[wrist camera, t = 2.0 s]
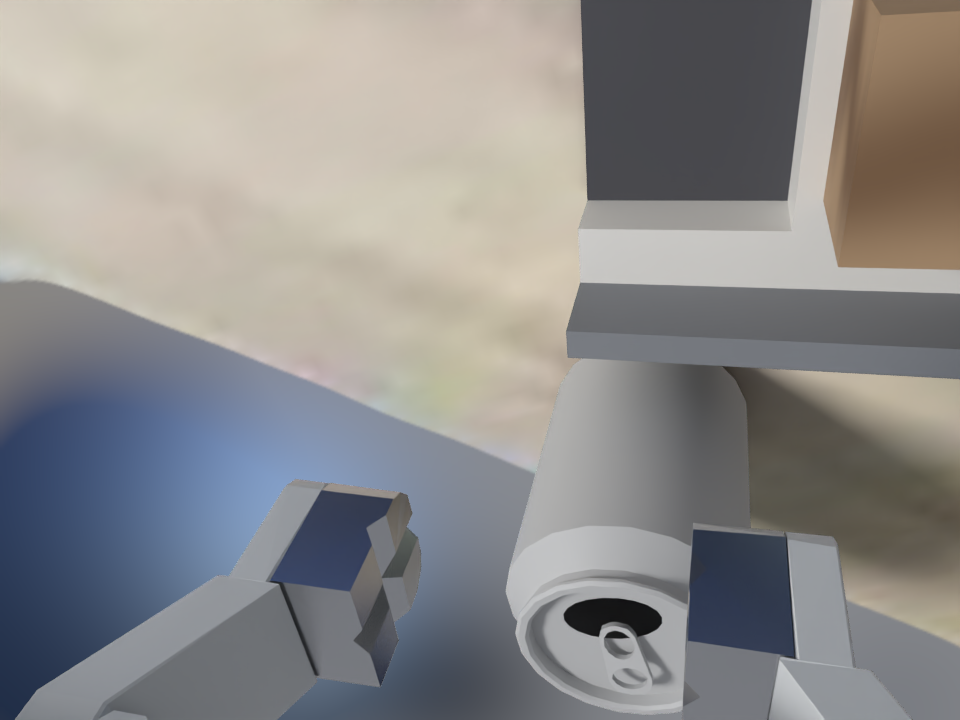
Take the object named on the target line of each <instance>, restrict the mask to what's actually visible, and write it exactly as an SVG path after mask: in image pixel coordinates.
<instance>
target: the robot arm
mask: <svg viewBox="0 0 960 720" xmlns="http://www.w3.org/2000/svg"><path fill="white" fill-rule="evenodd" d="M411 515H412V511H411V507H410V503H409V499H408V496H407V495H406V494H403V493H401V492H394V491H386V490H379V489H371V488H364V487H356V486H349V485H341V484H334V483H322V482H314V481H307V480H299V479H295V480H294V481H292V482H291V483H289V484H288V485H287V486H286V487H285V488H284V489H283V491H282V492H281V494H280V496H279V497H278V499H277V500H276V502H275V503H274V505H273V507H272V508H271V510H270V511H269V513H268V515H267V516H266V518H265V520H264V521H263V522H262V524H261V526H260V527H259V529H258V530H257V532H256V534H255V535H254V537H253V538H252V540H251V542H250V543H249V545H248V546H247V548H246V549H245V551H244V553H243V554H242V556H241V558H240V559H239V561H238V562H237V564H236V565H235V567H234V569H233V570H232V572H231V573H230V575H229V576H223V575H217V576H216V577H215V578H213V579H211V580H210V581H208V582H207V583H205V584H203V585H202V586H200V587H199V588H197V589H196V590H194V591H192V592H191V593H189V594H188V595H186V596H185V597H183V598H181V599H180V600H178V601H177V602H175V603H174V604H172V605H170V606H169V607H167V608H166V609H164V610H162V611H161V612H159V613H158V614H156V615H155V616H153V617H151V618H150V619H148V620H147V621H145V622H144V623H142V624H141V625H139V626H137V627H136V628H134V629H133V630H131V631H129V632H128V633H126V634H125V635H123V636H122V637H120V638H118V639H117V640H115V641H114V642H112V643H111V644H109V645H107V646H106V647H105V648H103V649H101V650H100V651H98V652H97V653H95V654H93V655H92V656H90V657H89V658H87V659H85V660H84V661H82V662H81V663H79V664H78V665H76V666H74V667H73V668H71V669H70V670H68V671H67V672H65V673H63V674H62V675H60V676H59V677H57V678H56V679H54V680H52V681H51V682H49V683H48V684H46V685H45V686H43V687H42V688H40V689H38V690H37V691H36V693H35V694H34V695H33V696H32V698H31V699H30V701H29V702H28V703H27V704H26V706H25V707H24V708H23V710H22V711H21V712H20V714H19V715H18V716H17V718H16V719H15V720H277V719H278V718H279V717H280V716H281V715H282V714H283V713H284V712H285V711H287V710H288V709H289V708H290V707H291V706H292V705H293V704H294V703H295V702H296V701H297V700H298V699H300V698H301V697H302V696H303V695H304V694H305V693H306V692H307V691H308V690H309V689H310V688H311V687H312V686H313V685H315V684H316V682H317V679H316V678H321V679H328V680H335V681H342V682H348V683H355V684H362V685H369V686H375V687H381V685H382V682H383V679H384V677H385V674H386V671H387V669H388V667H389V664H390V661H391V659H392V656H393V654H394V651H395V648H396V646H397V643H398V641H399V640H398V636H397V632H396V628H395V624H394V622H395V621H397V620H398V619H399V618H400V617H402V616H403V615H404V614H406V613H407V612H408V611H410V609H411V607H412V604H413V601H414V598H415V595H416V593H417V589H418V583H419V578H420V572H421V550H420V545H419V541H418V537H417V536H415V534H413V533H412V532H411V531H410V530H409V529H408V528H407V525H408V523H409V520H410V518H411ZM682 720H913V719H912V718H911V717H910V716H909V714H908V713H907V712H906V711H905V710H904V708H903V707H902V706H901V705H900V704H899V702H898V701H897V700H896V699H895V698H894V697H893V695H892V694H891V693H890V692H889V691H888V689H886V687H885V686H884V685H883V684H882V683H881V681H880V680H879V679H878V678H877V676H875V674H874V673H873V672H872V671H870V670H865V669H860V668H856V666H855V659H854V652H853V646H852V639H851V631H850V624H849V618H848V611H847V604H846V597H845V590H844V583H843V576H842V570H841V563H840V556H839V549H838V544H837V542H836V541H835V539H834V538H833V537H832V536H822V535H812V534H802V533H793V532H785V533H783V531H775V530H765V529H754V528H744V527H734V526H723V525H713V524H702V523H693V530H692V543H691V559H690V574H689V590H688V607H687V626H686V645H685V666H684V685H683V710H682Z"/></svg>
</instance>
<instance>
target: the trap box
mask: <svg viewBox="0 0 960 720" xmlns="http://www.w3.org/2000/svg"><path fill="white" fill-rule="evenodd" d="M852 6H853V0H581V21H582V51H583V80H584V110H585V139H586V169H587V198H588V201H587V204H586V207H585V210H584V213H583V216H582V219H581V222H580V225H579V228H578V237H579V261H580V286H579V289H578V293H577V296H576V299H575V303H574V306H573V310H572V313H571V317H570V320H569V323H568V327H567V330H566V336H567V354H568V358H585V359H603V360H621V361H640V362H658V363H676V364H694V365H713V366H731V367H749V368H768V369H786V370H804V371H822V372H841V373H859V374H877V375H896V376H914V377H932V378H950V379H960V270H939V269H894V268H848V267H838V265H837V260H836V256H835V251H834V247H833V243H832V238H831V234H830V229H829V225H828V220H827V216H826V211H825V207H824V202H823V199H824V192H825V185H826V179H827V172H828V165H829V159H830V152H831V146H832V139H833V132H834V126H835V119H836V112H837V106H838V99H839V92H840V86H841V79H842V73H843V66H844V59H845V53H846V46H847V39H848V33H849V26H850V20H851V13H852Z"/></svg>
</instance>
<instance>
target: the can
mask: <svg viewBox="0 0 960 720" xmlns="http://www.w3.org/2000/svg"><path fill="white" fill-rule="evenodd" d="M693 523H702V524H713V525H723V526H734V527H744V528H751V524H750V491H749V458H748V425H747V405H746V401H745V399H744V397H743V395H742V392H741V390H740V388H739V386H738V384H737V382H736V380H735V379H734V378H733V377H732V376H731V375H730V374H729V373H728V372H727V371H726V370H725V369H724V368H723V367H722V366H713V365H694V364H676V363H658V362H640V361H621V360H603V359H585V358H582V359H581V360H579V361H578V362H576V363H575V364H574V365H573V366H572V368H571V369H570V371H569V372H568V374H567V375H566V377H565V378H564V380H563V381H562V383H561V384H560V387H559V391H558V394H557V398H556V402H555V405H554V409H553V413H552V416H551V420H550V423H549V427H548V431H547V434H546V438H545V442H544V445H543V449H542V453H541V456H540V460H539V463H538V467H537V471H536V474H535V478H534V482H533V486H532V489H531V493H530V496H529V500H528V503H527V507H526V511H525V514H524V518H523V522H522V525H521V529H520V532H519V536H518V540H517V543H516V547H515V551H514V554H513V558H512V562H511V565H510V569H509V575H508V581H507V587H506V594H507V597H508V600H509V603H510V607H511V610H512V613H513V616H514V617H515V618H516V620H517V621H518V623H517V628H516V636H517V640H518V642H519V646H520V649H521V653H522V654H523V655H524V657H525V658H526V659H527V660H528V662H529V663H530V664H531V665H532V667H533V668H534V669H535V671H536V672H537V673H538V674H539V675H540V676H542V677H543V678H544V679H546V680H547V681H548V682H550V683H551V684H552V685H554V686H555V687H557V688H558V689H559V690H560V691H563V692H565V693H567V694H569V695H571V696H573V697H575V698H577V699H579V700H581V701H584V702H586V703H588V704H592V705H596V706H599V707H603V708H606V709H609V710H613V711H617V712H626V713H635V714H645V715H650V714H663V713H676V712H679V711H682V710H683V685H684V666H685V645H686V626H687V607H688V590H689V574H690V559H691V543H692V530H693Z"/></svg>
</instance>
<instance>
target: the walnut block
mask: <svg viewBox="0 0 960 720" xmlns="http://www.w3.org/2000/svg"><path fill="white" fill-rule="evenodd" d="M823 202H824V207H825V211H826V216H827V220H828V225H829V229H830V234H831V238H832V243H833V247H834V251H835V256H836V260H837V265H838V267H848V268H894V269H939V270H960V0H853V6H852V13H851V20H850V26H849V33H848V39H847V46H846V53H845V59H844V66H843V73H842V79H841V86H840V92H839V99H838V106H837V112H836V119H835V126H834V132H833V139H832V146H831V152H830V159H829V165H828V172H827V179H826V185H825V192H824V199H823Z"/></svg>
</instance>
